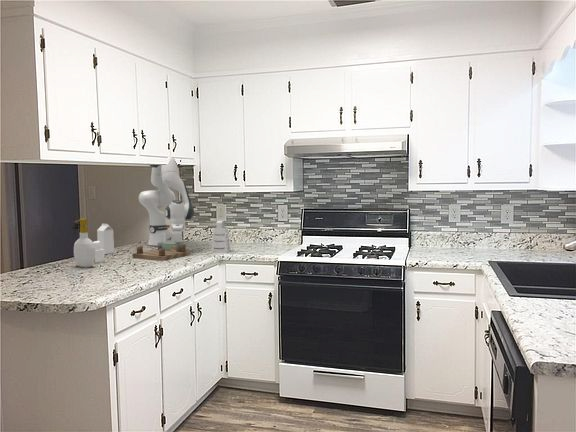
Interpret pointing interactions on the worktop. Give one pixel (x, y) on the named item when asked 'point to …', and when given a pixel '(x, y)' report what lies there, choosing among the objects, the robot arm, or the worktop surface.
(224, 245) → the grey tiered tower
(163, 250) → the stool seat
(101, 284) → the worktop surface
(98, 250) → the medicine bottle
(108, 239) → the milk carton
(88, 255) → the soap bottle
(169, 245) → the hinged leg
